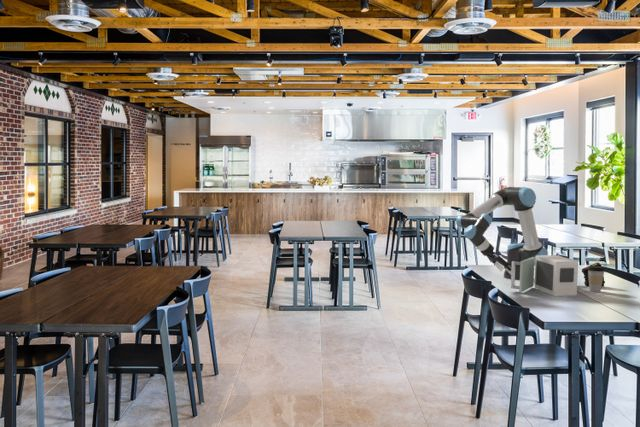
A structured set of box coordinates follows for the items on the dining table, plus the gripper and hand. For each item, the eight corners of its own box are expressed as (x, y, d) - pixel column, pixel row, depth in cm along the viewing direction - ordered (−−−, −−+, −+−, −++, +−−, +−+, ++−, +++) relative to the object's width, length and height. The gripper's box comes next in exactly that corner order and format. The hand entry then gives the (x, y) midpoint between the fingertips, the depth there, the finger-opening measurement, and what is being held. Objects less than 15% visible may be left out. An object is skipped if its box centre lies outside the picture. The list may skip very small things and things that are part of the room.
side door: (522, 284, 346) (523, 255, 345) (533, 286, 342) (535, 257, 340) (509, 290, 328) (510, 260, 327) (521, 292, 324) (522, 261, 323)
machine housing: (533, 287, 342) (535, 255, 340) (555, 287, 344) (556, 255, 342) (554, 296, 319) (556, 261, 318) (577, 295, 321) (579, 261, 320)
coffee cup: (596, 293, 327) (598, 268, 326) (582, 290, 335) (583, 266, 334) (607, 292, 331) (608, 267, 330) (593, 289, 339) (594, 264, 338)
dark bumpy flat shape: (610, 284, 345) (600, 263, 345) (589, 293, 347) (580, 271, 346) (607, 283, 349) (597, 262, 348) (587, 291, 350) (577, 270, 350)
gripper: (471, 248, 340) (493, 272, 343) (490, 254, 315) (513, 280, 319) (480, 239, 340) (502, 263, 344) (499, 245, 315) (522, 271, 319)
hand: (507, 271), depth 331 cm, fingers open, 13 cm apart
